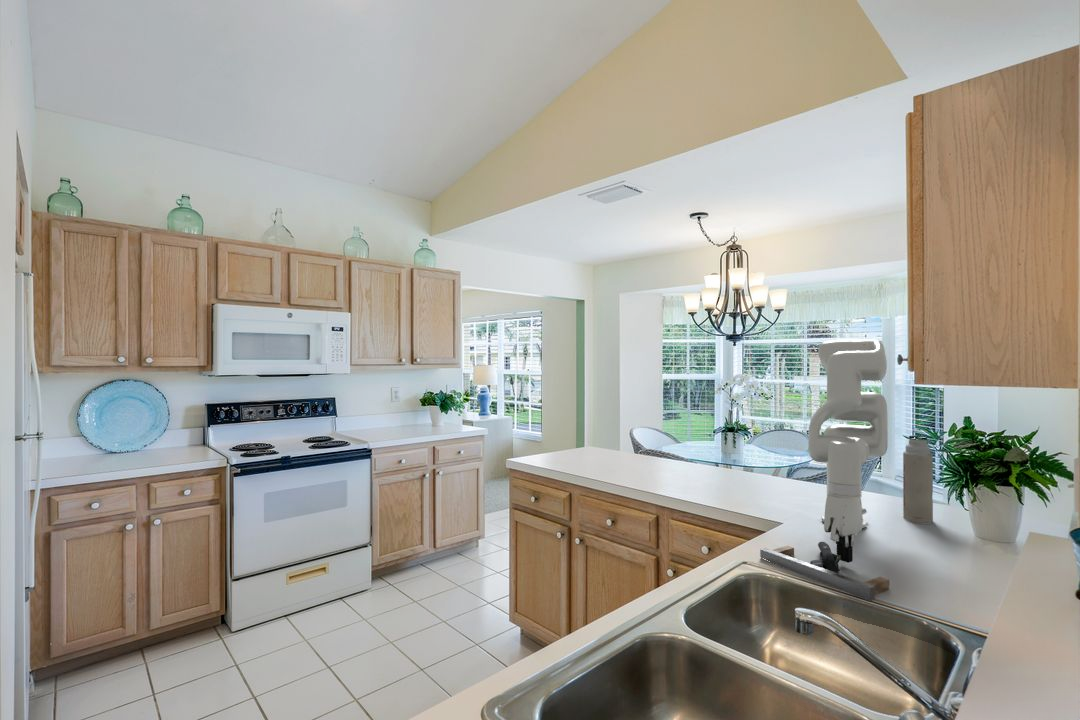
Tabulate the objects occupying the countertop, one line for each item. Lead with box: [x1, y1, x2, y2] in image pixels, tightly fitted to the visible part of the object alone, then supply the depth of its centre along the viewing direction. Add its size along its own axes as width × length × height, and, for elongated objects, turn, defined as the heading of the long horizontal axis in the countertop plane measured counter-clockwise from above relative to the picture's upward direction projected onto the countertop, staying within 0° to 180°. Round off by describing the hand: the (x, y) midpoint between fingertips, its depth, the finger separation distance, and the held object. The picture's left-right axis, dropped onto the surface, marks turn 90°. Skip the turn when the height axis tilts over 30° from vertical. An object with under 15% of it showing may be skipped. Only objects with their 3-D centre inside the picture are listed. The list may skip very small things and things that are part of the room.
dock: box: [759, 545, 890, 602], centre depth 132 cm, size 10×28×3 cm, turn 30°
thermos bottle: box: [902, 435, 934, 525], centre depth 176 cm, size 8×8×28 cm
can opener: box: [810, 541, 841, 573], centre depth 138 cm, size 18×7×6 cm, turn 154°
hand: (844, 560), depth 136 cm, fingers closed
